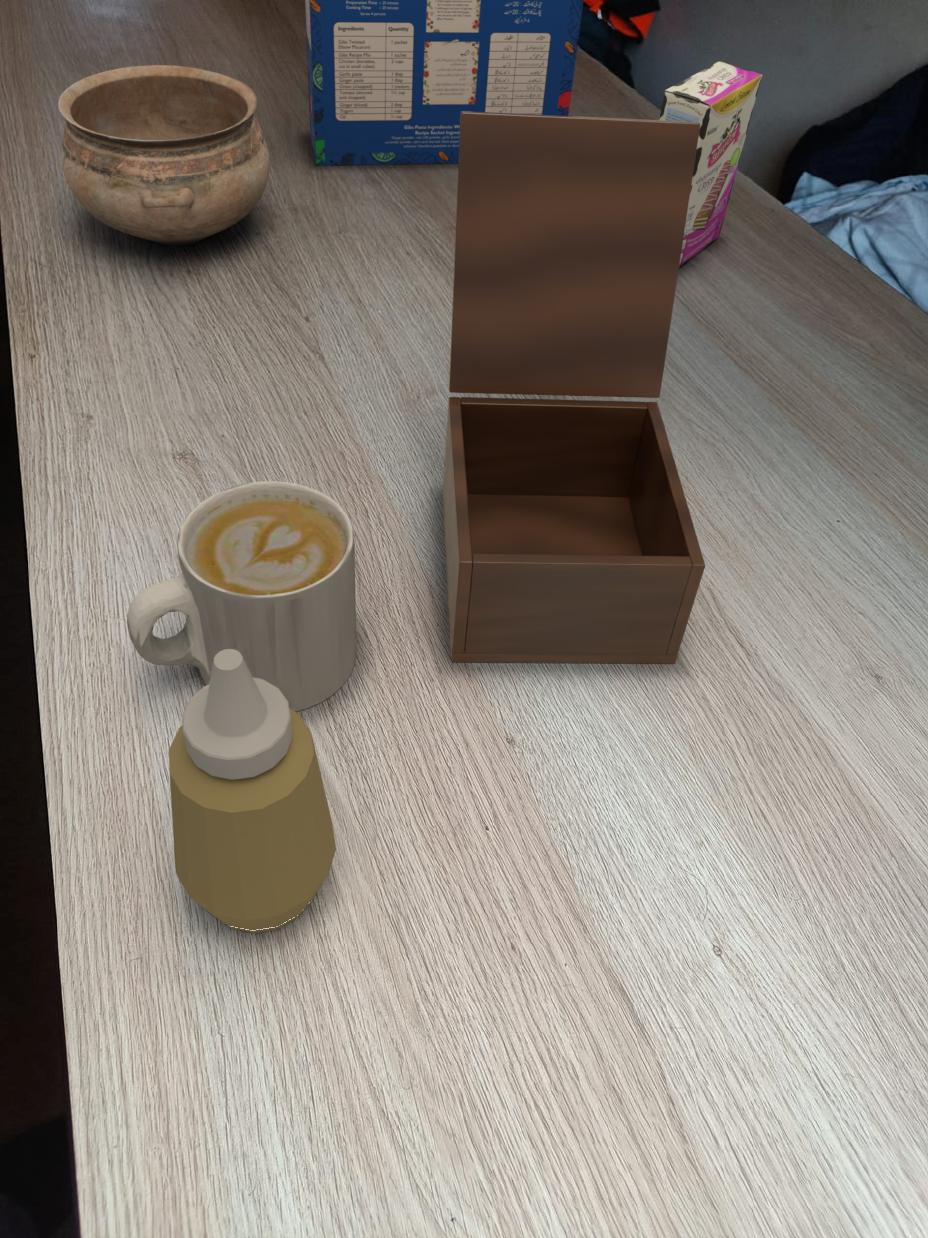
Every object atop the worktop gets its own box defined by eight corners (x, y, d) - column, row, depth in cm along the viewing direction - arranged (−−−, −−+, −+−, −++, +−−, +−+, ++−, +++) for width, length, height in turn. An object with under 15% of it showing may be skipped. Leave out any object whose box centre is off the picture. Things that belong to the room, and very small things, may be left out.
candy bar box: (672, 278, 105) (711, 104, 93) (628, 260, 106) (661, 88, 95) (723, 238, 111) (765, 71, 99) (680, 222, 113) (717, 57, 101)
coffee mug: (340, 588, 72) (336, 471, 65) (370, 699, 66) (370, 583, 58) (136, 617, 69) (108, 498, 62) (147, 737, 63) (117, 620, 55)
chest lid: (700, 123, 65) (683, 114, 69) (461, 112, 64) (457, 103, 67) (659, 398, 74) (646, 377, 78) (449, 392, 73) (446, 371, 76)
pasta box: (546, 132, 127) (579, -151, 107) (562, 161, 122) (600, -132, 102) (310, 135, 122) (298, -161, 102) (316, 165, 117) (304, -141, 97)
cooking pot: (286, 288, 99) (277, 156, 90) (72, 299, 95) (41, 162, 86) (263, 171, 115) (254, 49, 106) (81, 176, 112) (56, 51, 103)
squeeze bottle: (167, 845, 58) (108, 616, 45) (311, 801, 60) (294, 571, 47) (204, 978, 53) (149, 763, 40) (358, 923, 55) (354, 705, 42)
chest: (675, 663, 69) (705, 565, 63) (451, 662, 68) (459, 562, 62) (635, 498, 81) (657, 401, 74) (442, 495, 80) (448, 396, 73)
